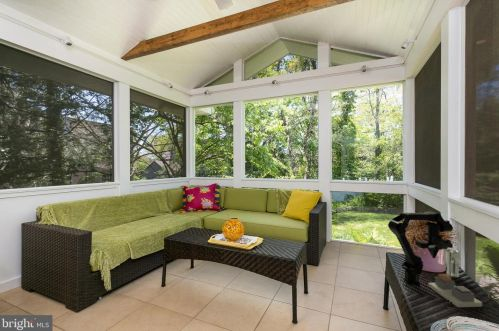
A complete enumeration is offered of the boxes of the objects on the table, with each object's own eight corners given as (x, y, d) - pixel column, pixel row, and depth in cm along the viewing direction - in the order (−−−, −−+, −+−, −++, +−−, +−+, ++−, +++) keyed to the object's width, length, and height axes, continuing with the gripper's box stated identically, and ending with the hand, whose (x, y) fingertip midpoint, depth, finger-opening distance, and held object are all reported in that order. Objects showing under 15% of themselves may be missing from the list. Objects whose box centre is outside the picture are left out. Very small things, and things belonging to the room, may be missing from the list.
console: (457, 307, 116) (457, 295, 115) (428, 286, 135) (428, 275, 134) (482, 306, 116) (482, 294, 115) (449, 285, 135) (449, 275, 134)
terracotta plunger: (444, 286, 129) (444, 277, 128) (438, 282, 133) (438, 273, 132) (451, 286, 129) (451, 277, 128) (445, 282, 133) (445, 273, 132)
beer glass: (463, 278, 142) (463, 254, 142) (449, 277, 143) (449, 253, 143) (455, 272, 149) (455, 249, 148) (442, 272, 150) (442, 249, 150)
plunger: (462, 300, 118) (462, 290, 117) (455, 295, 122) (455, 286, 121) (470, 300, 118) (470, 290, 117) (462, 295, 122) (462, 286, 121)
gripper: (428, 237, 133) (428, 264, 134) (461, 236, 133) (461, 263, 134) (414, 231, 144) (414, 256, 145) (444, 230, 144) (444, 255, 145)
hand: (433, 258), depth 142 cm, fingers closed
